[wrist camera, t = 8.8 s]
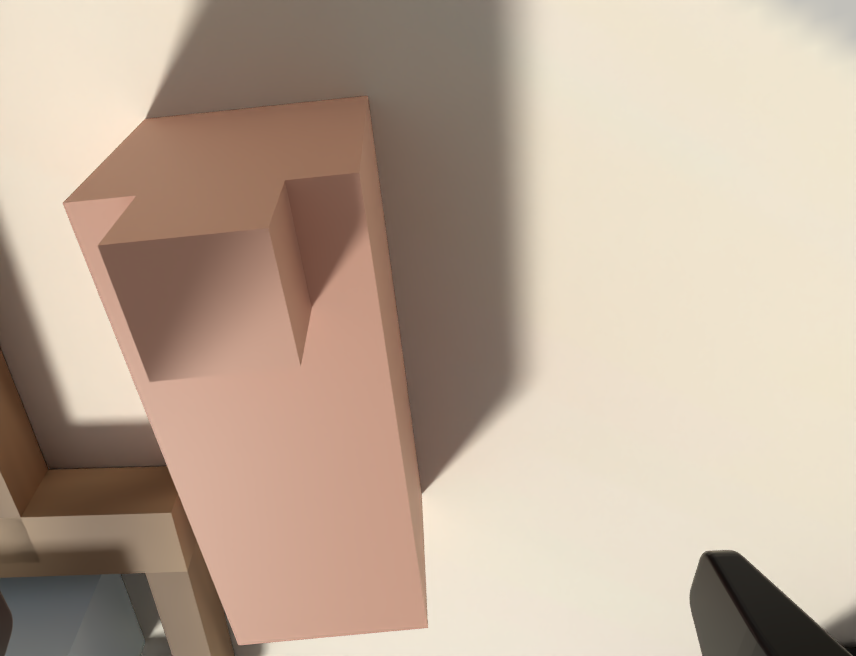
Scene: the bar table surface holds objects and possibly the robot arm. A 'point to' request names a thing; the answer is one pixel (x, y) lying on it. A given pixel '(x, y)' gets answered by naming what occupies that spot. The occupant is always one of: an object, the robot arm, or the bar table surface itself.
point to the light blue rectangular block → (71, 616)
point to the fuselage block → (268, 357)
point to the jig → (104, 530)
